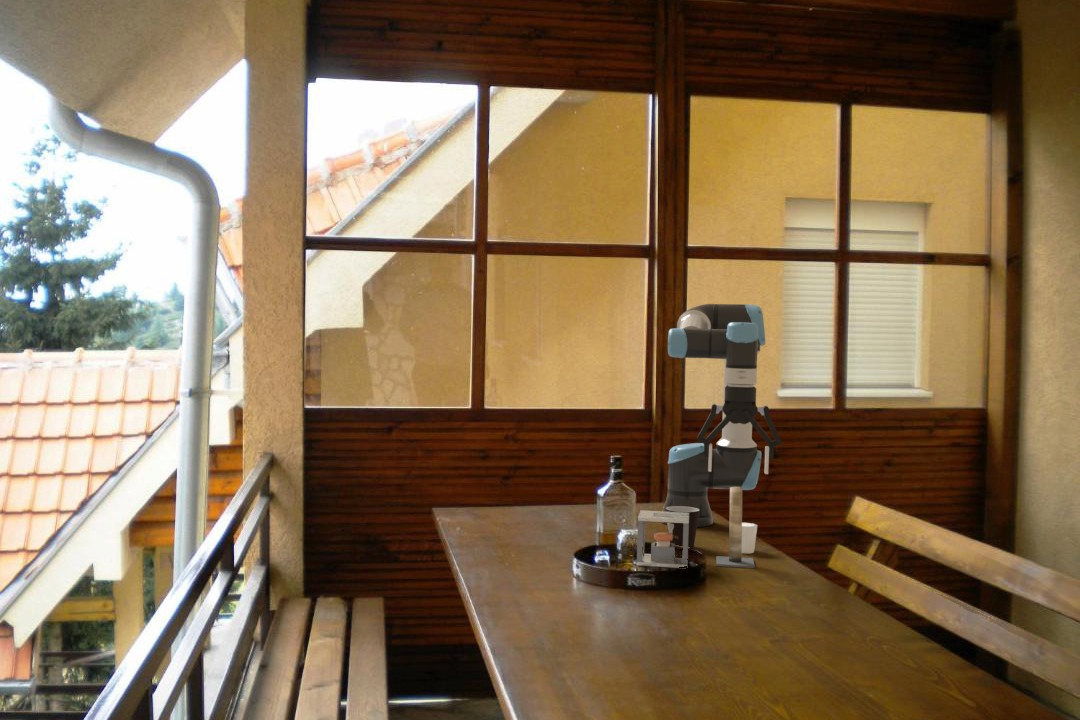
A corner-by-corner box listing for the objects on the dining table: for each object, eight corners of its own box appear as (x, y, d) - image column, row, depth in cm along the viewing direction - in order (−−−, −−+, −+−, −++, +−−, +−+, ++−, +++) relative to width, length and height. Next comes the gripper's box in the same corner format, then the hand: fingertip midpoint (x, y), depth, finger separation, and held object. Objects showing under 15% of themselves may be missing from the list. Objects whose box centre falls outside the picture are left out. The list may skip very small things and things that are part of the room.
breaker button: (654, 555, 255) (654, 532, 255) (672, 556, 254) (672, 533, 254) (653, 558, 250) (653, 535, 250) (671, 560, 250) (672, 536, 250)
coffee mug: (700, 551, 266) (701, 512, 266) (666, 550, 267) (667, 511, 266) (694, 541, 278) (695, 504, 278) (662, 540, 278) (663, 503, 278)
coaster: (716, 558, 259) (716, 556, 259) (752, 560, 257) (752, 558, 257) (716, 566, 250) (716, 564, 250) (754, 568, 248) (754, 566, 248)
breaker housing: (639, 556, 258) (640, 510, 258) (687, 559, 256) (689, 512, 256) (636, 565, 248) (638, 517, 248) (687, 568, 246) (688, 520, 246)
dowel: (728, 559, 255) (729, 486, 255) (741, 559, 255) (742, 487, 254) (729, 562, 252) (730, 488, 252) (741, 562, 252) (742, 488, 251)
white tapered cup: (749, 555, 263) (750, 527, 263) (724, 551, 267) (725, 524, 267) (761, 551, 269) (761, 524, 268) (736, 547, 273) (737, 520, 273)
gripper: (688, 384, 250) (686, 472, 251) (794, 388, 247) (791, 476, 248) (689, 382, 258) (686, 467, 259) (791, 386, 254) (788, 472, 255)
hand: (737, 472), depth 253 cm, fingers open, 13 cm apart
